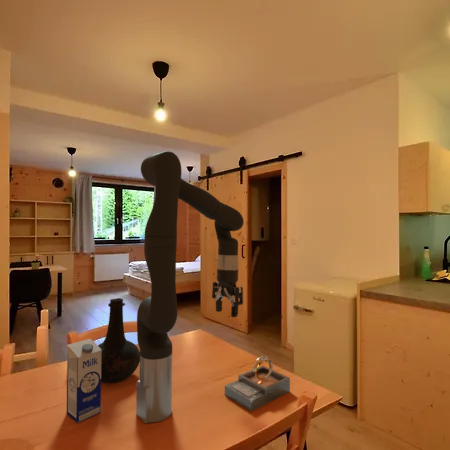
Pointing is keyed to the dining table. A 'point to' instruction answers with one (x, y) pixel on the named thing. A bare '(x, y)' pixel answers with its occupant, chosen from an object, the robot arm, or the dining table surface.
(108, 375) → the glass bottle
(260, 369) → the grey tray
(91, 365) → the milk carton
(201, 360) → the dining table surface
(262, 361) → the ring
